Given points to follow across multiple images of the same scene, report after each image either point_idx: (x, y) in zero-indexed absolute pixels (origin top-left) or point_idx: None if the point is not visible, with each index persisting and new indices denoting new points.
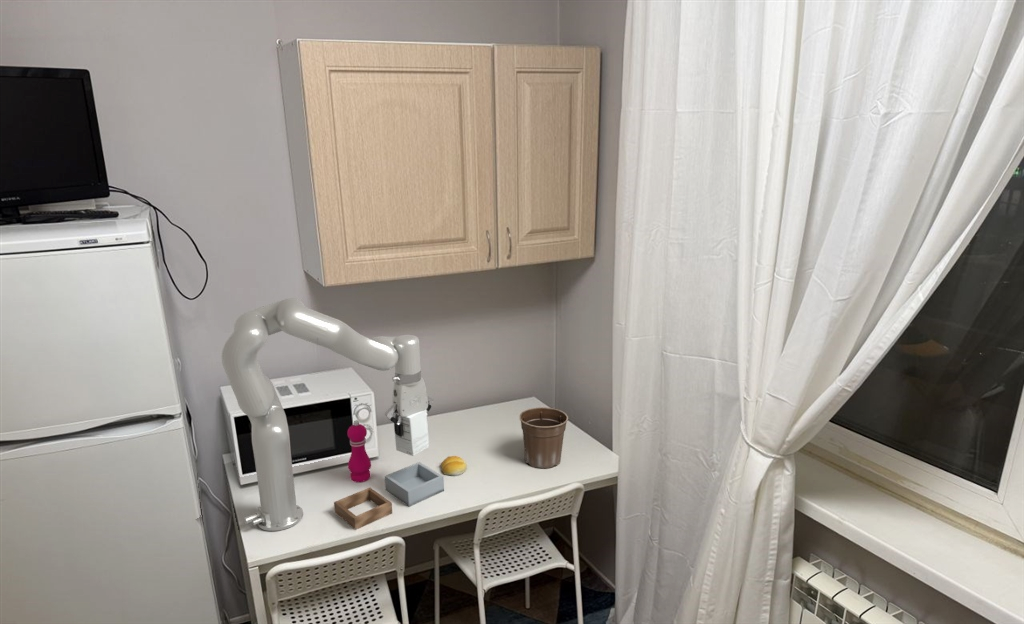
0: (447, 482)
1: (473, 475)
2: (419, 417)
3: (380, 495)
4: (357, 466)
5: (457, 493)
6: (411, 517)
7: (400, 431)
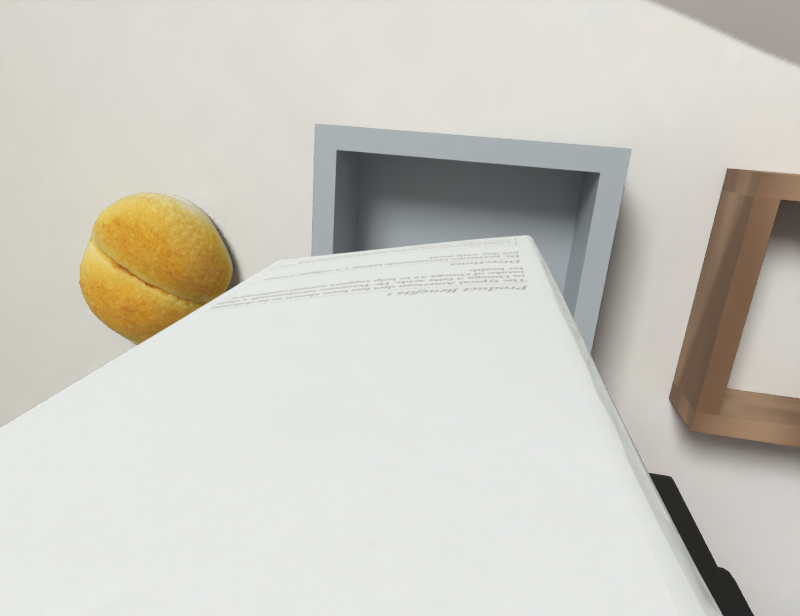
0: (273, 188)
1: (123, 130)
2: (143, 525)
3: (731, 304)
4: None
5: (309, 39)
6: (691, 32)
7: (701, 558)
